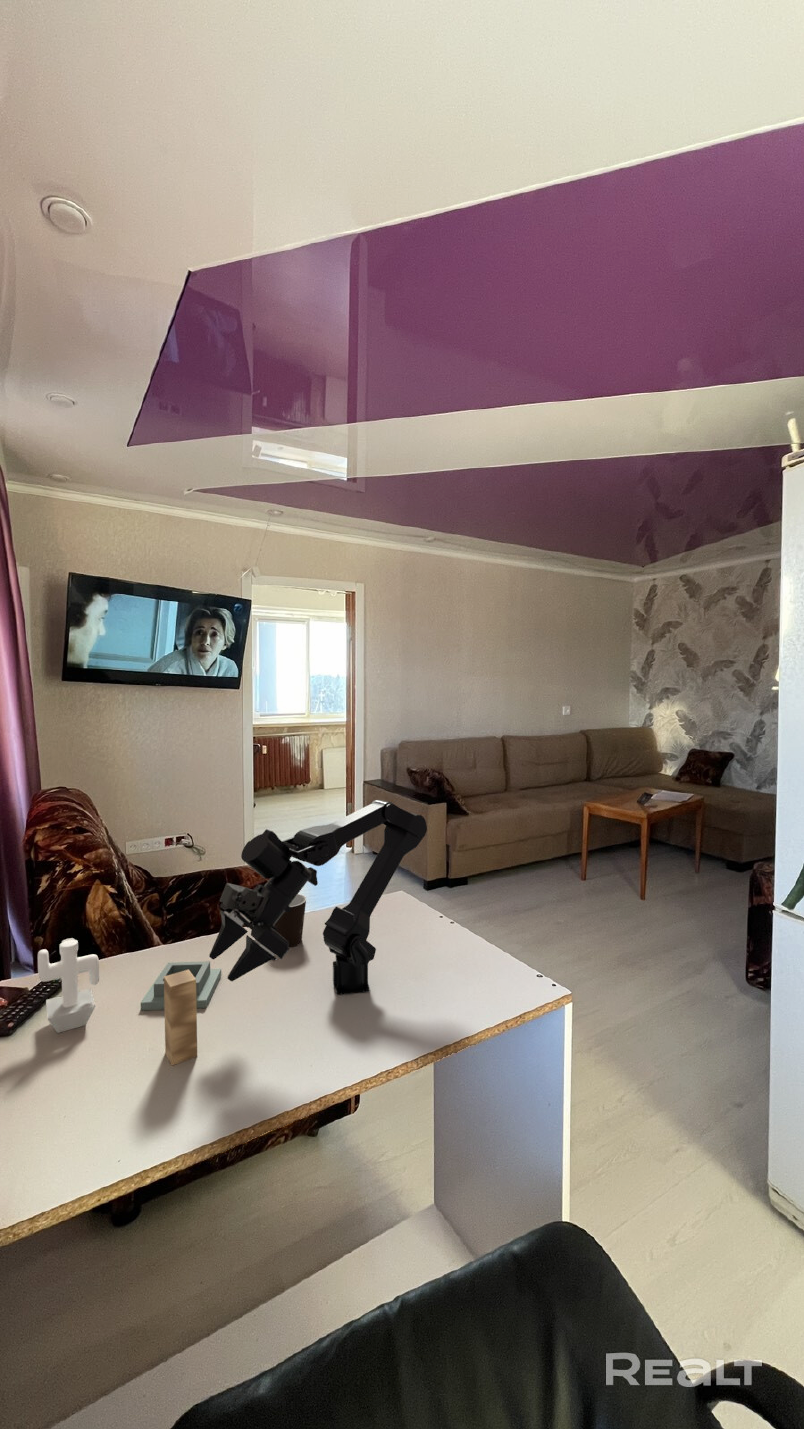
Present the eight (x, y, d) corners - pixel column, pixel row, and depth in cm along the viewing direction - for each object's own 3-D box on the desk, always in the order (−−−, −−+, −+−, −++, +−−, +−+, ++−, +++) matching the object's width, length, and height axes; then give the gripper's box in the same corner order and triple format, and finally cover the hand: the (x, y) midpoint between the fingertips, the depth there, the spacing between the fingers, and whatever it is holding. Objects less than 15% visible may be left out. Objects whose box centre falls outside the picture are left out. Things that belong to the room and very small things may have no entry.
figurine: (102, 1024, 103) (100, 942, 102) (40, 1042, 97) (37, 956, 97) (98, 1005, 109) (96, 928, 108) (39, 1021, 103) (36, 940, 103)
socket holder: (221, 975, 120) (221, 956, 120) (206, 1007, 108) (206, 987, 108) (162, 977, 119) (162, 958, 119) (140, 1010, 107) (140, 989, 107)
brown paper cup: (298, 951, 131) (298, 908, 130) (263, 947, 132) (262, 905, 132) (316, 929, 142) (315, 890, 142) (283, 926, 144) (283, 887, 143)
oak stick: (190, 1043, 97) (188, 969, 97) (197, 1056, 94) (196, 979, 93) (165, 1052, 95) (163, 976, 94) (172, 1065, 92) (170, 986, 91)
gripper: (230, 853, 107) (169, 925, 102) (271, 881, 92) (202, 967, 87) (270, 886, 113) (214, 956, 107) (314, 917, 98) (253, 1001, 92)
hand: (219, 968), depth 98 cm, fingers open, 9 cm apart
